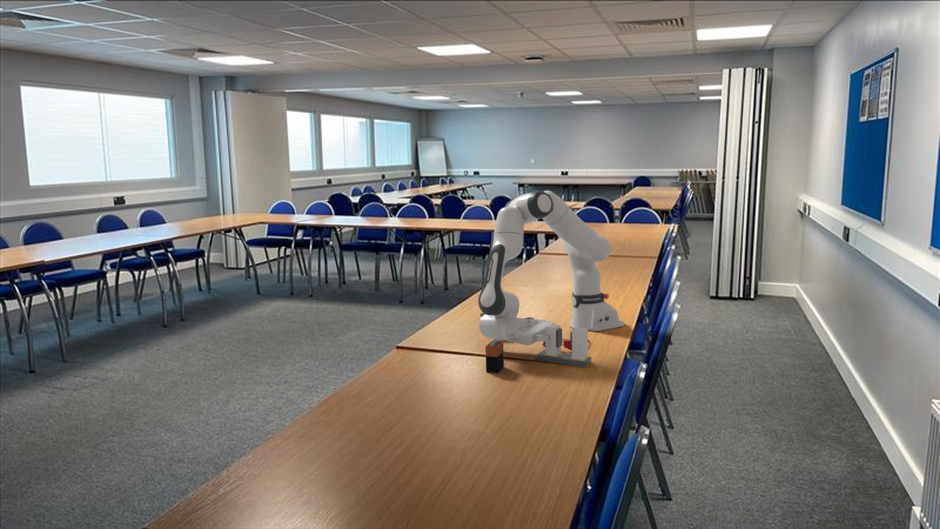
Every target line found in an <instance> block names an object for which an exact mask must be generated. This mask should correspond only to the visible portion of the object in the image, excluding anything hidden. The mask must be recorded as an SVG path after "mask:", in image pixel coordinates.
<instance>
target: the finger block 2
mask: <svg viewBox="0 0 940 529" xmlns="http://www.w3.org/2000/svg"><path fill="white" fill-rule="evenodd" d="M588 331H589V330H588V329H587V328H579V327H576V328H572V329H571V331H570V332H569V333H570V334H569V335H570V336H569V337H570V339H569V341H570V349H572V350H571V354H572V358H573V359H579V360H584V359H585V358H587V357H588V356H589V354H588V352H589V348H588V347H589V345H588V342H589V341H588V340H589V339H588V337H589V336H588V334H589V332H588Z"/></svg>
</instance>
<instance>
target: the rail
mask: <svg viewBox="0 0 940 529" xmlns="http://www.w3.org/2000/svg"><path fill="white" fill-rule="evenodd" d="M539 360H543V361H542V362H545V361H547V363H552V362H553V363H552V364H558V363H560V365H565V364H566V366H571V365H573V366H572V367H578V366H580V368H584V367H585V368H586V367H587V366H589V365H590V364H592V363H591V362H592V360H593V358H592V356H589V355H588V357H587V358H585V359H584V360H579V359H573V358H572V353H567V352H562V351H561V353H560V354H558V355H557V356H553V355H546V354H545V350H542V351H540V352H538V353H537V354H536V361H539ZM588 364H589V365H588Z"/></svg>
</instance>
